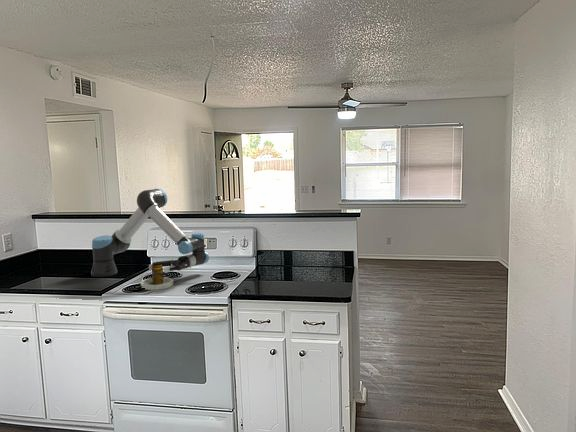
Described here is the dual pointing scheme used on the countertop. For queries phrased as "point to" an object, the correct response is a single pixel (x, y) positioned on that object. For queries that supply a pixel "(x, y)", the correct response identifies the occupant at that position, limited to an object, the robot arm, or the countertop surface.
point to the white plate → (167, 283)
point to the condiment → (157, 274)
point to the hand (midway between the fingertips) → (156, 268)
